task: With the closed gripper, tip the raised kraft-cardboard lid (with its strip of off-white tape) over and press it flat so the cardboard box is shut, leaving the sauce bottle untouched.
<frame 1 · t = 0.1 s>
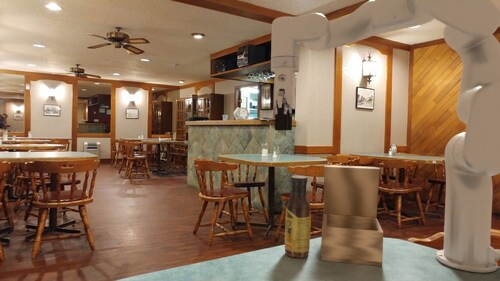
hand: (283, 130, 95), 31 cm above the table, fingers open, 9 cm apart
lid: (350, 191, 96), point 15 cm above the table, hinge at 75.0°
box: (349, 253, 91), on the table
sauce bottle: (296, 255, 89), on the table
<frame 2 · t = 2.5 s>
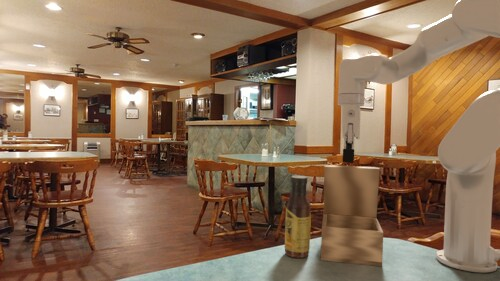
hand: (348, 162, 106), 22 cm above the table, fingers closed
nothing on the table moved.
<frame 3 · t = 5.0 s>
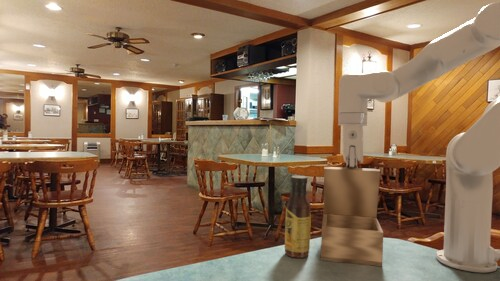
hand: (350, 187, 96), 16 cm above the table, fingers closed
lid: (350, 192, 95), point 15 cm above the table, hinge at 69.2°, touching gripper
everything else where it was.
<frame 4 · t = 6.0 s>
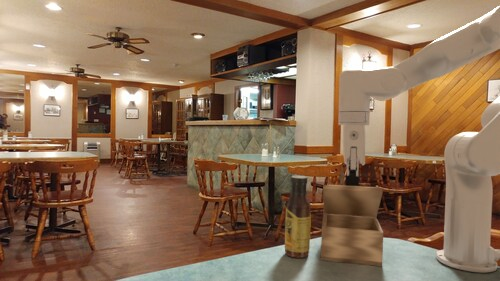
hand: (351, 191, 90), 16 cm above the table, fingers closed
lid: (350, 201, 92), point 13 cm above the table, hinge at 38.9°, touching gripper
everything else where it was.
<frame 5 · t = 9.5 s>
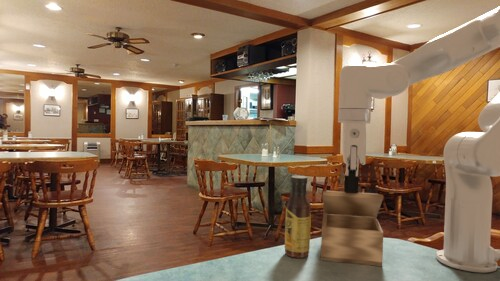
hand: (350, 192, 86), 16 cm above the table, fingers closed
lid: (350, 204, 92), point 12 cm above the table, hinge at 31.7°, touching gripper
everything else where it was.
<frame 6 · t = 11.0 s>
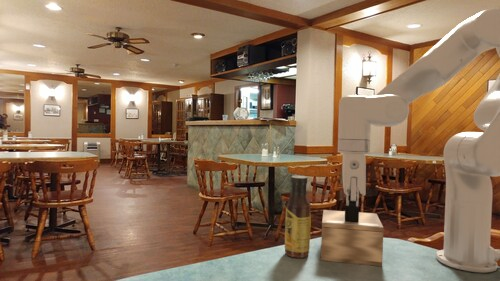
hand: (351, 221, 87), 9 cm above the table, fingers closed
lid: (350, 219, 90), point 9 cm above the table, hinge at 0.2°
everything else where it was.
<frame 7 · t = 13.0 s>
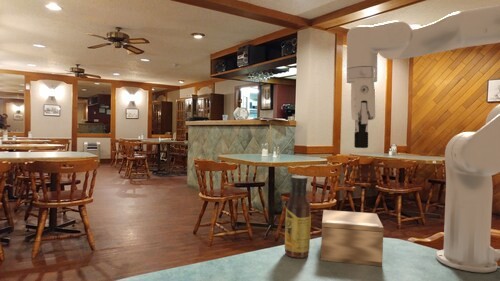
hand: (361, 147, 91), 27 cm above the table, fingers closed
nothing on the table moved.
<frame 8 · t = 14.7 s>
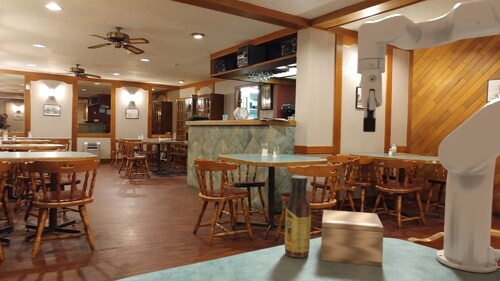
hand: (369, 131, 101), 31 cm above the table, fingers closed
nothing on the table moved.
at the end: lid at +0° (first picture: +75°); sauce bottle moved 0.2 cm from its start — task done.
